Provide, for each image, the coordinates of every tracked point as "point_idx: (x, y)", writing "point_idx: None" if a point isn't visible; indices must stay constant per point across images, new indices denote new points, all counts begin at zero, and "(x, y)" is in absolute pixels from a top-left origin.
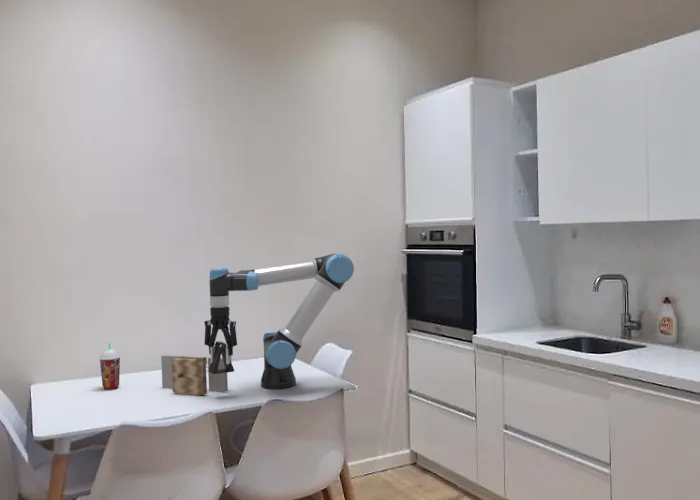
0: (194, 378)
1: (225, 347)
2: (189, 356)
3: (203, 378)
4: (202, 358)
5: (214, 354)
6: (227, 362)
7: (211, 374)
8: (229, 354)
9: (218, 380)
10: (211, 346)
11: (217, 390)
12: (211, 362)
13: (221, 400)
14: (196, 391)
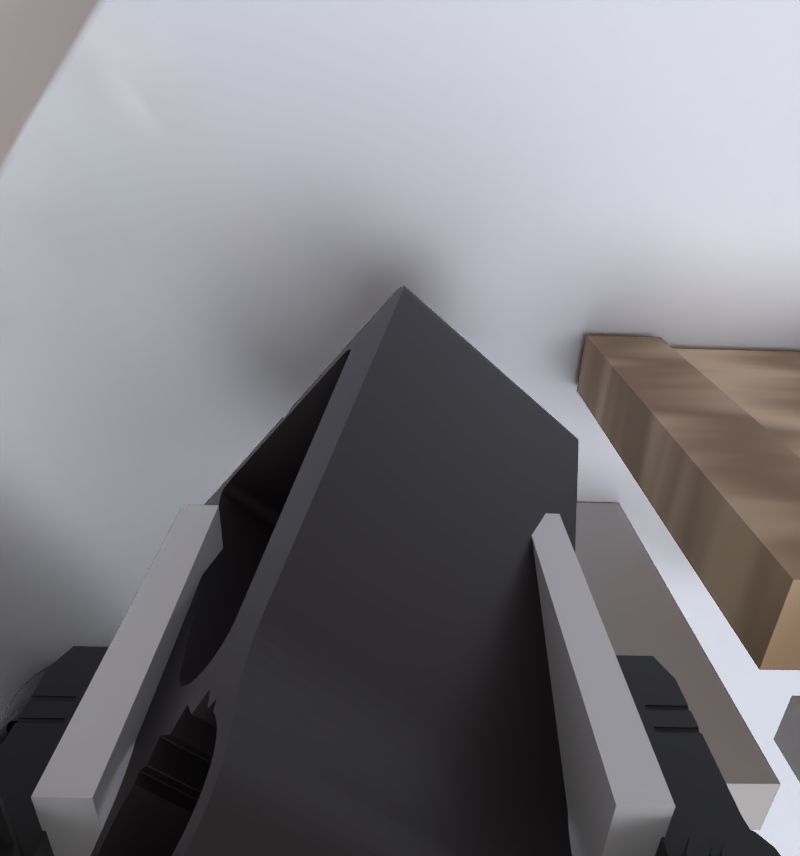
0: (779, 418)
1: (129, 829)
2: None
3: (643, 414)
4: (791, 584)
5: (522, 663)
6: (179, 523)
7: (639, 608)
8: (93, 668)
9: None
10: (666, 853)
11: None
12: (548, 521)
13: (311, 229)
14: (687, 358)
